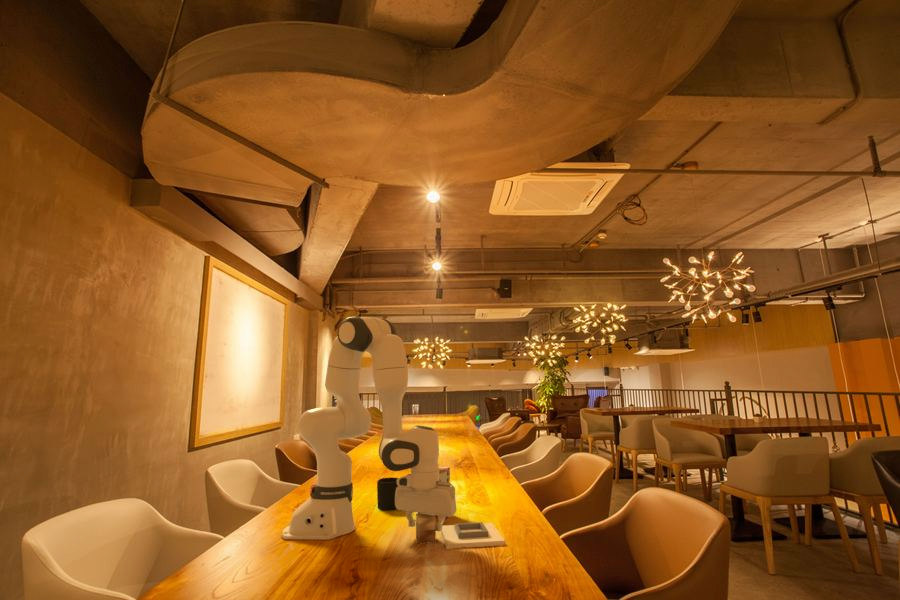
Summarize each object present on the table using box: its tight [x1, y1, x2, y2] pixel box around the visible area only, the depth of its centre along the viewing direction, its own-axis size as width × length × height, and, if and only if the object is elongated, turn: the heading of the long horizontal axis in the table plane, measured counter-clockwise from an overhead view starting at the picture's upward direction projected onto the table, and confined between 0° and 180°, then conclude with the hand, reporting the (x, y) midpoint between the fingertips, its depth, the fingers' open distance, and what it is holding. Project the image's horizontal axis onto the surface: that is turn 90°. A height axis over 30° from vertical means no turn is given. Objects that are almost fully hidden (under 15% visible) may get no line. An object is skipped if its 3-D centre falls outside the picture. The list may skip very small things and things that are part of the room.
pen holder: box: [376, 477, 399, 511], centre depth 169 cm, size 9×9×10 cm
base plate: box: [440, 521, 506, 549], centre depth 135 cm, size 17×17×3 cm
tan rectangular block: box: [415, 512, 437, 544], centre depth 133 cm, size 5×5×7 cm
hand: (425, 528), depth 133 cm, fingers open, 8 cm apart
